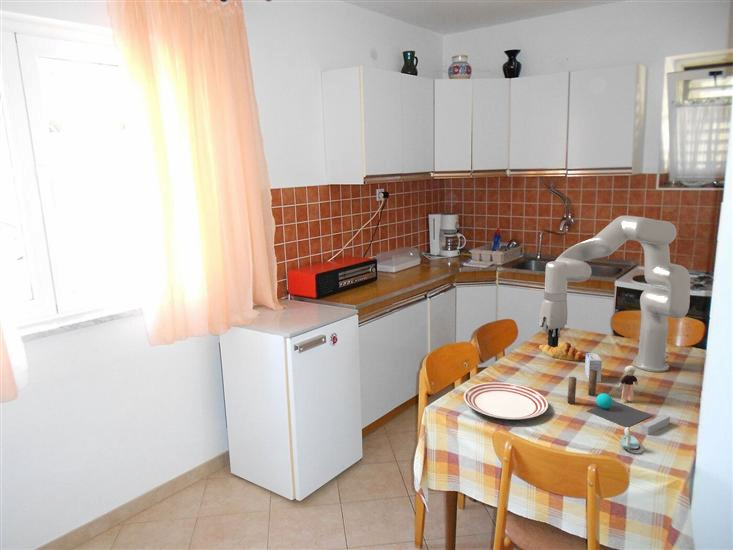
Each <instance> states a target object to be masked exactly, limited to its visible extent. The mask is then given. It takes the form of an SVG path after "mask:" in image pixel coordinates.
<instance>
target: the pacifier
mask: <svg viewBox="0 0 733 550" xmlns="http://www.w3.org/2000/svg"><path fill="white" fill-rule="evenodd" d="M620 442H621V443H619V446H620V447H623V448H624V449H625V450H626V449H627V451H629V452H631V453H633V454H641V453H642V452H643V451H644V446H643V445H642V444H641V443H640V442H639V441H638V439H637V438H636V437H635V435H631V430H630V427H624V435H622V436H621V438H620ZM639 447H640V448H639ZM636 449H637V450H636Z"/></svg>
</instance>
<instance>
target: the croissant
mask: <svg viewBox="0 0 733 550" xmlns="http://www.w3.org/2000/svg"><path fill="white" fill-rule="evenodd" d="M538 347H539V350H540V351H541V352H544V353H543V354H546V355H547V356H549V357H550V358H554V359H557V360H562V359H563V360H564V361H572V362H574V361H575V362H577V361H579V362H581V361H583V360H585V357H586V353H583V352H582V351H580V350H578V349H577V348H576V347H575V346H573V345H571V342H570V343H569V342H567V341H562V342H558V347H551V346H548V343H543V344H540V345H538ZM563 360H562V361H563Z"/></svg>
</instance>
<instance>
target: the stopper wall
mask: <svg viewBox="0 0 733 550" xmlns="http://www.w3.org/2000/svg"><path fill="white" fill-rule="evenodd" d="M670 421H671V416H670V415H667V414H666V413H663V414H661V415H658V416H657V417H655V418H653V419H651V420H648V421H647V422H644V423H641V424H642V425H641V430H640V431H641V432H640V433H642V432H643V433H642V434H645V435H647V434H648V435H650V434H653V433H655V432H657V430H661V429H662V428H664V427H666V426H668V425H670V424H671V423H670Z"/></svg>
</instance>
